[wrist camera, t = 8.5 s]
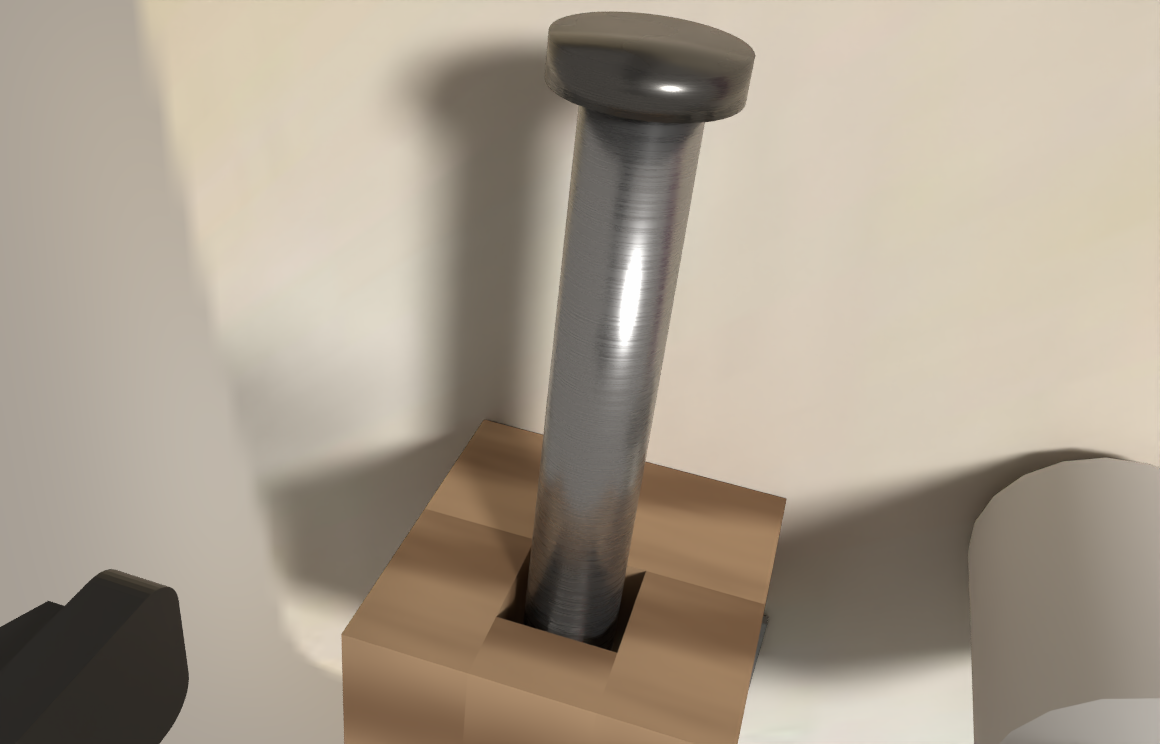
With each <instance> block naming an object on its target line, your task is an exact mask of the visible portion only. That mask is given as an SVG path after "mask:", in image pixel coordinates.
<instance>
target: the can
mask: <svg viewBox="0 0 1160 744" xmlns="http://www.w3.org/2000/svg"><path fill="white" fill-rule="evenodd" d="M968 570H969V600H970V630H971V661H972V691H973V721H974V744H1160V468H1158V467H1156V466H1153V465H1151V464H1146V463H1140V462H1133V461H1126V460H1119V459H1112V458H1096V459H1085V460H1074V461H1063V462H1060V463H1057V464H1054V465H1051V466H1048V467H1045V468H1042V469H1040V470H1037V471H1034V472H1031V473H1028V474H1025V475H1023V476H1022V477H1020V478H1019V479H1017V480H1016V481H1014V482H1013V483H1012V484H1010V485H1009V486H1007V487H1006V488H1004V489H1003V490H1002V491H1000V492H999V493H997V494H996V495H994V496H993V498H992V499H991V500H990V502H989V503H988V505H987V506H986V507H985V509H984V510H983V511H982V513H981V514H980V516H979V517H978V518H977V520H976V521H975V523H974V527H973V531H972V535H971V540H970V544H969V548H968Z"/></svg>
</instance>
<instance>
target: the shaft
mask: <svg viewBox="0 0 1160 744" xmlns="http://www.w3.org/2000/svg"><path fill="white" fill-rule="evenodd" d="M754 59H755V53H754V51H753V49H752V48H751V47H750V46H749V45H748V44H747V43H745V42H744V41H743V40H741V39H739V38H737V37H736V36H733V35H731V34H729V33H727V32H724V31H722V30H719V29H716V28H713V27H710V26H707V25H703V24H700V23H696V22H692V21H688V20H683V19H678V18H673V17H667V16H661V15H653V14H644V13H633V12H590V13H581V14H575V15H570V16H566V17H563V18H561V19H558V20H556V21H555V22H553V23H552V24H551V25H550V27H549V32H548V44H547V55H546V67H545V81H546V83H547V85H548V86H549V87H550V89H551V90H553V91H554V92H555V93H556V94H558V95H559V96H561V97H563V98H564V99H566V100H568V101H570V102H572V103H575V104H577V105H579V107H578V116H577V126H576V135H575V144H574V154H573V163H572V173H571V182H570V191H569V201H568V210H567V219H566V229H565V238H564V247H563V257H562V266H561V275H560V285H559V294H558V303H557V313H556V322H555V331H554V341H553V350H552V360H551V369H550V378H549V388H548V397H547V406H546V416H545V425H544V434H543V444H542V453H541V462H540V472H539V481H538V490H537V500H536V509H535V518H534V528H533V537H532V547H531V556H530V565H529V575H528V584H527V593H526V603H525V612H524V621H523V625H525V626H529V627H532V628H535V629H539V630H542V631H546V632H549V633H552V634H556V635H559V636H562V637H566V638H569V639H572V640H576V641H579V642H582V643H586V644H589V645H593V646H596V647H599V648H603V649H606V650H609V651H612V648H613V643H614V637H615V631H616V626H617V620H618V614H619V609H620V603H621V597H622V591H623V586H624V580H625V574H626V569H627V563H628V557H629V552H630V546H631V540H632V534H633V529H634V523H635V517H636V512H637V506H638V500H639V495H640V489H641V483H642V477H643V472H644V466H645V460H646V455H647V449H648V443H649V437H650V432H651V426H652V420H653V415H654V409H655V403H656V398H657V392H658V386H659V380H660V375H661V369H662V363H663V358H664V352H665V346H666V341H667V335H668V329H669V323H670V318H671V312H672V306H673V301H674V295H675V289H676V284H677V278H678V272H679V266H680V261H681V255H682V249H683V244H684V238H685V232H686V227H687V221H688V215H689V209H690V204H691V198H692V192H693V187H694V181H695V175H696V169H697V164H698V158H699V152H700V147H701V141H702V135H703V130H704V124H705V122H710V121H716V120H721V119H724V118H728V117H731V116H733V115H735V114H737V113H739V112H740V111H741V110H742V109H743V108H744V107H745V104H746V100H747V95H748V90H749V84H750V79H751V74H752V69H753V64H754Z"/></svg>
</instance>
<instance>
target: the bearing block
mask: <svg viewBox="0 0 1160 744" xmlns="http://www.w3.org/2000/svg"><path fill="white" fill-rule="evenodd" d="M542 444H543V435H541V434H537V433H534V432H530V431H526V430H522V429H518V428H514V427H511V426H507V425H503V424H499V423H495V422H492V421H488V420H483V422H482V423H481V425H480V426H479V428H478V429H477V431H476V432H475V434H474V435H473V437H472V438H471V440H470V441H469V443H468V444H467V446H466V447H465V449H464V450H463V452H462V453H461V455H460V456H459V458H458V459H457V461H456V462H455V464H454V465H453V467H452V468H451V470H450V471H449V473H448V474H447V476H446V477H445V479H444V481H443V482H442V484H441V485H440V487H439V488H438V490H437V491H436V493H435V494H434V496H433V497H432V499H431V500H430V502H429V503H428V505H427V506H426V508H425V509H424V511H423V512H422V514H421V515H420V517H419V518H418V520H417V521H416V523H415V524H414V526H413V527H412V529H411V530H410V532H409V533H408V535H407V536H406V538H405V539H404V541H403V542H402V544H401V545H400V547H399V548H398V550H397V551H396V553H395V554H394V556H393V557H392V559H391V560H390V562H389V563H388V565H387V566H386V568H385V569H384V571H383V572H382V574H381V575H380V577H379V578H378V580H377V582H376V583H375V585H374V586H373V588H372V589H371V591H370V592H369V594H368V595H367V597H366V598H365V600H364V601H363V603H362V604H361V606H360V607H359V609H358V610H357V612H356V613H355V615H354V616H353V618H352V619H351V621H350V622H349V624H348V625H347V627H346V628H345V630H344V631H343V633H342V672H343V709H344V744H738V739H739V734H740V729H741V724H742V719H743V714H744V709H745V704H746V699H747V694H748V689H749V684H750V679H751V674H752V669H753V664H754V659H755V654H756V649H757V644H758V639H759V634H760V629H761V624H762V619H763V614H764V609H765V604H766V599H767V594H768V589H769V584H770V579H771V574H772V569H773V564H774V559H775V554H776V549H777V544H778V539H779V534H780V529H781V524H782V519H783V514H784V509H785V504H786V499H785V498H781V497H778V496H774V495H770V494H766V493H762V492H758V491H755V490H751V489H747V488H743V487H739V486H736V485H732V484H728V483H724V482H720V481H717V480H713V479H709V478H705V477H701V476H697V475H694V474H690V473H686V472H682V471H678V470H675V469H671V468H667V467H663V466H659V465H656V464H652V463H648V462H645V466H644V472H643V477H642V483H641V489H640V495H639V500H638V506H637V512H636V517H635V523H634V529H633V534H632V540H631V546H630V552H629V557H628V563H627V569H626V574H625V580H624V586H623V591H622V597H621V603H620V609H619V614H618V620H617V626H616V631H615V637H614V643H613V648H612V651H609V650H606V649H603V648H599V647H596V646H593V645H589V644H586V643H582V642H579V641H576V640H572V639H569V638H566V637H562V636H559V635H556V634H552V633H549V632H546V631H542V630H539V629H535V628H532V627H529V626H525V625H523V621H524V612H525V603H526V593H527V584H528V575H529V565H530V556H531V547H532V537H533V528H534V518H535V509H536V500H537V490H538V481H539V472H540V462H541V453H542Z"/></svg>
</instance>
